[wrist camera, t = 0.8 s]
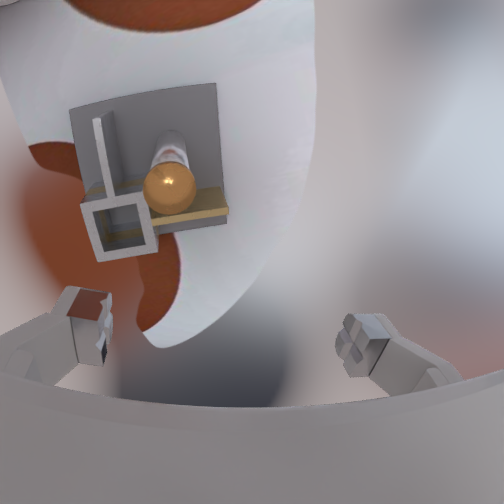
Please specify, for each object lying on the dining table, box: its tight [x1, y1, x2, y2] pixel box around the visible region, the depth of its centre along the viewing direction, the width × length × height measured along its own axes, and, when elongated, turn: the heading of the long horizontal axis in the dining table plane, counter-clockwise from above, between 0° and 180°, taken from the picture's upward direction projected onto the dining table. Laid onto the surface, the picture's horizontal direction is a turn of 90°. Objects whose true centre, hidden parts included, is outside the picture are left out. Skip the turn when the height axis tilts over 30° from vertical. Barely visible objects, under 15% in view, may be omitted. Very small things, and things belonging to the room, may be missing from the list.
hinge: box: [80, 110, 229, 262], centre depth 39 cm, size 19×19×8 cm
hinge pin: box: [143, 130, 196, 215], centre depth 34 cm, size 5×5×19 cm
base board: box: [69, 83, 227, 234], centre depth 43 cm, size 22×21×1 cm
